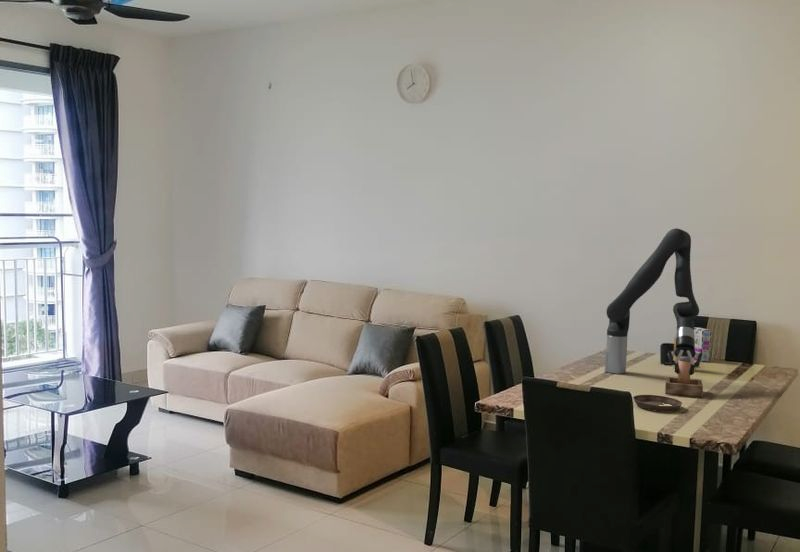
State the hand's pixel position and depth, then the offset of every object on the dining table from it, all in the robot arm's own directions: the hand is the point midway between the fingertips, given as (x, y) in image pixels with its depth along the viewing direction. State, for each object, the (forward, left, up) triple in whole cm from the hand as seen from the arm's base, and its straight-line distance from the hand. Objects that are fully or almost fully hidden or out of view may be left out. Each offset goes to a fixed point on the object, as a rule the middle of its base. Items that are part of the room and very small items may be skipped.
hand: (684, 373), depth 310 cm
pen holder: (-5, +68, -9) cm, 69 cm away
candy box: (+1, +57, -9) cm, 57 cm away
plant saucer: (-10, -29, -9) cm, 32 cm away
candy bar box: (+10, +89, -9) cm, 90 cm away
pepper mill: (0, +2, -6) cm, 6 cm away
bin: (0, +2, -9) cm, 9 cm away
